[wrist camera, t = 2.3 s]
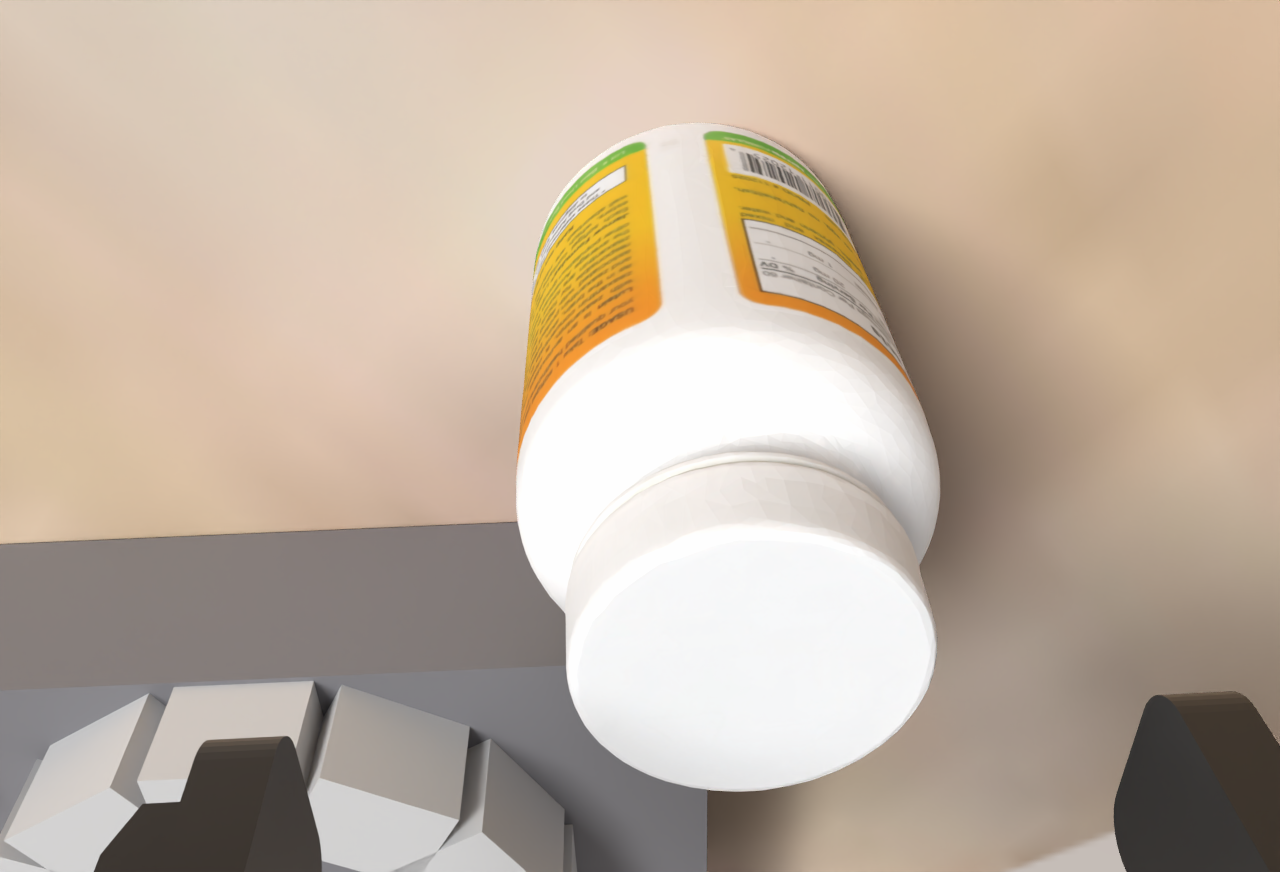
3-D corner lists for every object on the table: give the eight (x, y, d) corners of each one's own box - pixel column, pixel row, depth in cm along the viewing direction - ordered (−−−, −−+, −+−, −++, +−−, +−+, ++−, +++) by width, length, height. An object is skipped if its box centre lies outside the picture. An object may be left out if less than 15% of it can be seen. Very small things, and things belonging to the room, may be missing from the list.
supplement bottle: (562, 412, 22) (545, 858, 14) (508, 138, 19) (445, 509, 11) (849, 376, 22) (997, 810, 14) (840, 92, 19) (1022, 439, 11)
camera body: (691, 514, 24) (718, 750, 19) (693, 855, 30) (713, 1099, 25) (-111, 549, 23) (-300, 797, 18) (60, 884, 30) (-47, 1135, 25)
